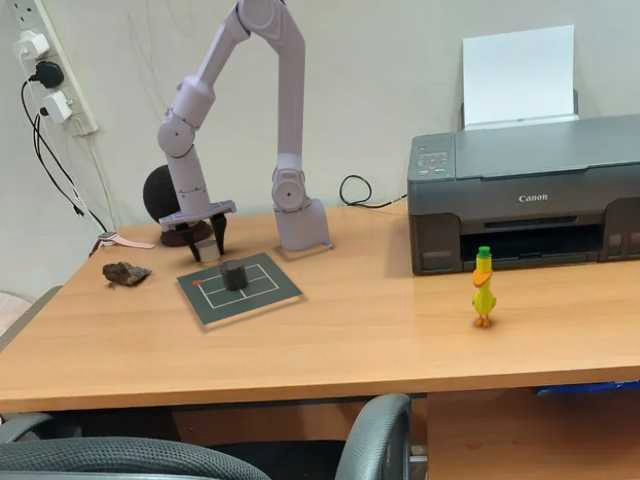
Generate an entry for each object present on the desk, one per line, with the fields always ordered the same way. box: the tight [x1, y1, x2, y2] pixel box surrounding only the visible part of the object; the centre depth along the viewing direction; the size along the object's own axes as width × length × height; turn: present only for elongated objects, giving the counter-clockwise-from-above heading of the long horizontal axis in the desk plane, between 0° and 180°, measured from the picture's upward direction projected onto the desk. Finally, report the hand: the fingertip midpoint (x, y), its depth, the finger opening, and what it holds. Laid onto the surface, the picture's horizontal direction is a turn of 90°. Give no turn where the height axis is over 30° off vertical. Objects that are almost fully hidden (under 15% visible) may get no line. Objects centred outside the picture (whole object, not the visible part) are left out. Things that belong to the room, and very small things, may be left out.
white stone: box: [195, 238, 222, 263], centre depth 131 cm, size 4×4×4 cm
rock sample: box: [101, 261, 153, 286], centre depth 128 cm, size 10×8×9 cm
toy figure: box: [471, 246, 497, 328], centre depth 98 cm, size 7×4×12 cm, turn 158°
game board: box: [176, 251, 304, 326], centre depth 120 cm, size 18×22×1 cm
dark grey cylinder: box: [219, 258, 249, 291], centre depth 119 cm, size 4×4×4 cm
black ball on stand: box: [142, 163, 213, 248], centre depth 141 cm, size 13×13×15 cm
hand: (209, 256), depth 131 cm, fingers closed on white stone, 4 cm apart
